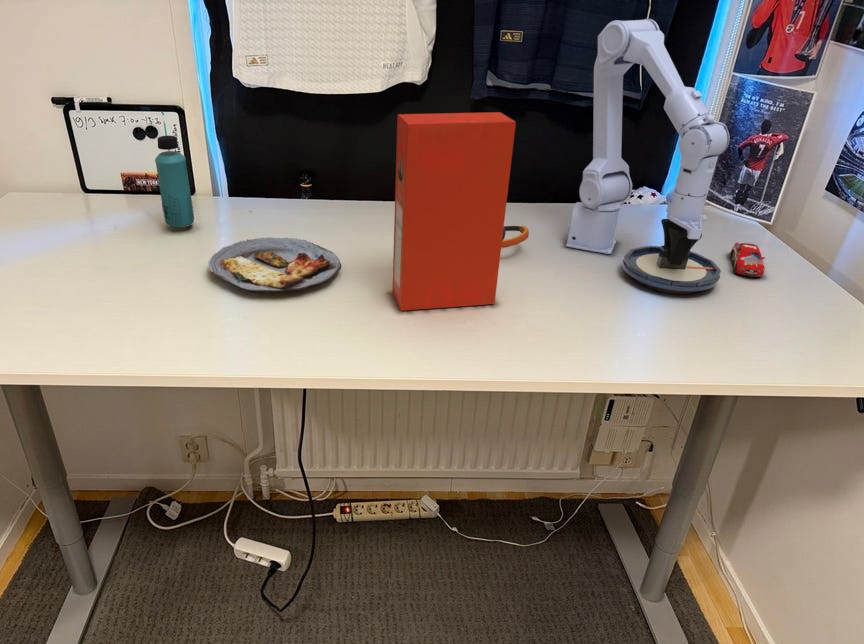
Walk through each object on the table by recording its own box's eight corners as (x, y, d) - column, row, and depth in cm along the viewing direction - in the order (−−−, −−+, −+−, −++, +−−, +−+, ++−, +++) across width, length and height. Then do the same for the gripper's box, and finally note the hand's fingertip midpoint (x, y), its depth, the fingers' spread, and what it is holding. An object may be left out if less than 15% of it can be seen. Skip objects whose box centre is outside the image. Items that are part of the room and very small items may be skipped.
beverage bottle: (202, 227, 152) (190, 135, 141) (179, 236, 147) (166, 142, 137) (181, 221, 155) (168, 131, 144) (158, 229, 150) (143, 137, 140)
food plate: (363, 274, 133) (364, 257, 131) (270, 313, 118) (268, 295, 117) (281, 239, 147) (280, 223, 145) (188, 270, 133) (186, 253, 131)
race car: (763, 281, 134) (769, 263, 132) (733, 277, 136) (739, 258, 134) (756, 256, 145) (762, 239, 143) (728, 252, 146) (734, 235, 144)
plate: (634, 288, 126) (639, 264, 124) (613, 250, 141) (618, 228, 139) (733, 293, 125) (741, 269, 123) (701, 255, 140) (708, 233, 138)
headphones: (456, 213, 155) (540, 211, 144) (459, 236, 158) (542, 235, 147) (420, 236, 143) (508, 236, 132) (424, 260, 146) (511, 262, 135)
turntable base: (629, 285, 131) (630, 278, 131) (637, 261, 141) (638, 254, 141) (701, 299, 127) (703, 292, 126) (704, 273, 137) (706, 266, 136)
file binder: (391, 291, 127) (397, 113, 110) (480, 285, 130) (499, 111, 113) (401, 312, 120) (408, 125, 103) (494, 305, 123) (516, 122, 106)
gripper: (727, 206, 119) (705, 277, 126) (700, 180, 131) (682, 247, 138) (685, 204, 119) (666, 275, 126) (663, 179, 131) (647, 245, 138)
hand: (672, 260), depth 132 cm, fingers open, 3 cm apart
